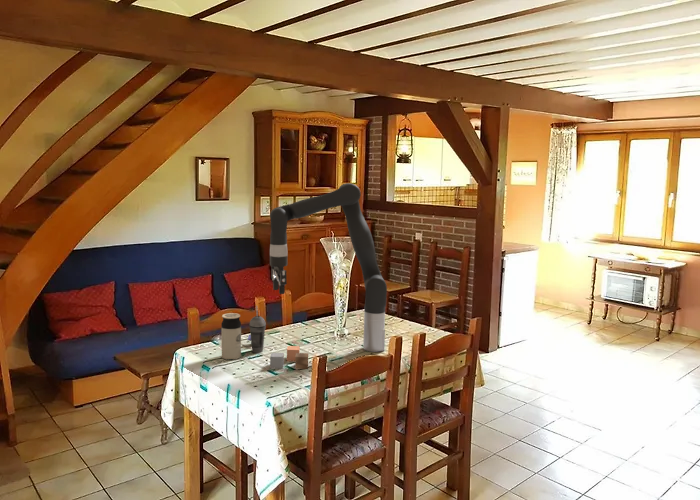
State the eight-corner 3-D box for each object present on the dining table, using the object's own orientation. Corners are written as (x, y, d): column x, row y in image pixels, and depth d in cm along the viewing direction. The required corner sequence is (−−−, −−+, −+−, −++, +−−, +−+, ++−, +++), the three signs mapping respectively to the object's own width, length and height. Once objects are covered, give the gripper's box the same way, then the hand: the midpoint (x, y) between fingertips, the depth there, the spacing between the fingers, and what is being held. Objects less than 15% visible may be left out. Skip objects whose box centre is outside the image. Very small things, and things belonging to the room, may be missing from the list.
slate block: (283, 364, 234) (283, 352, 233) (282, 369, 229) (282, 356, 228) (271, 364, 234) (271, 352, 233) (270, 368, 229) (270, 356, 228)
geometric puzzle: (260, 344, 253) (262, 326, 257) (245, 343, 253) (247, 326, 257) (263, 349, 259) (265, 332, 263) (248, 348, 260) (250, 332, 263)
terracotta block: (299, 357, 243) (299, 346, 243) (298, 361, 238) (299, 349, 238) (287, 357, 243) (287, 346, 242) (286, 361, 238) (286, 349, 237)
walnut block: (308, 364, 235) (308, 353, 234) (307, 369, 230) (308, 357, 229) (295, 364, 234) (296, 353, 234) (295, 369, 229) (295, 357, 229)
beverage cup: (252, 354, 245) (252, 309, 242) (246, 349, 251) (246, 305, 248) (268, 352, 248) (268, 307, 245) (262, 347, 255) (263, 303, 252)
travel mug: (217, 357, 240) (217, 315, 238) (231, 352, 247) (231, 311, 244) (231, 361, 236) (231, 318, 233) (244, 356, 242) (244, 315, 240)
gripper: (292, 256, 240) (292, 294, 242) (282, 251, 253) (282, 288, 255) (275, 257, 237) (275, 296, 239) (265, 252, 250) (265, 289, 252)
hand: (278, 291), depth 247 cm, fingers open, 8 cm apart
